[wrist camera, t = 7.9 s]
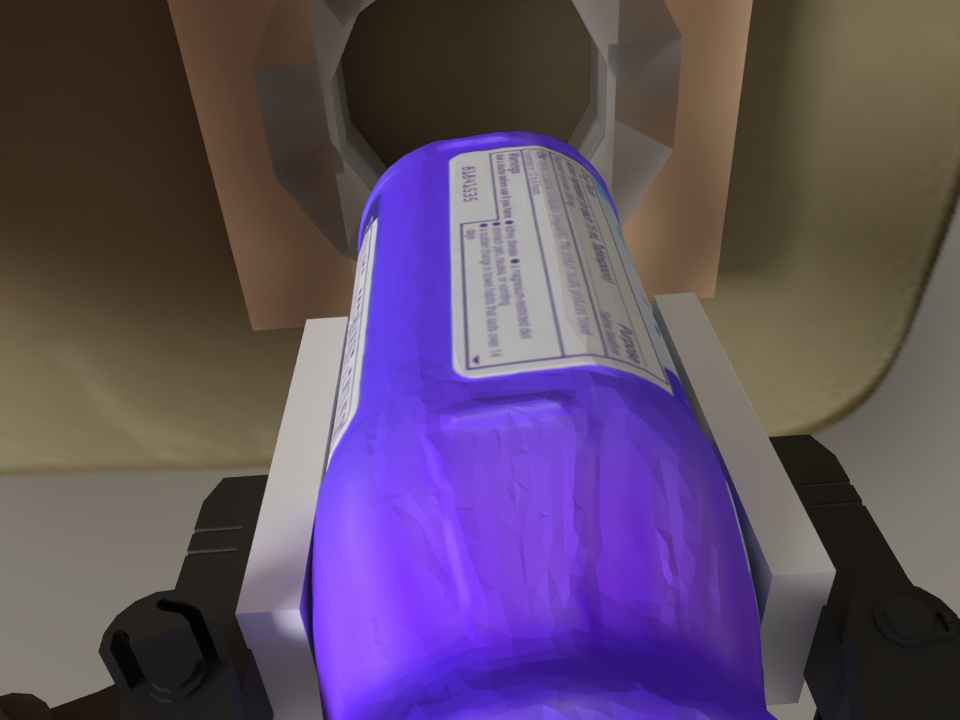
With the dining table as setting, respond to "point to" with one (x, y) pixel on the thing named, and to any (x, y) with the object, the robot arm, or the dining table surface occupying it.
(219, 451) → the dining table surface
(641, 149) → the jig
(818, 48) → the dining table surface
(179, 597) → the robot arm
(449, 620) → the bottle
